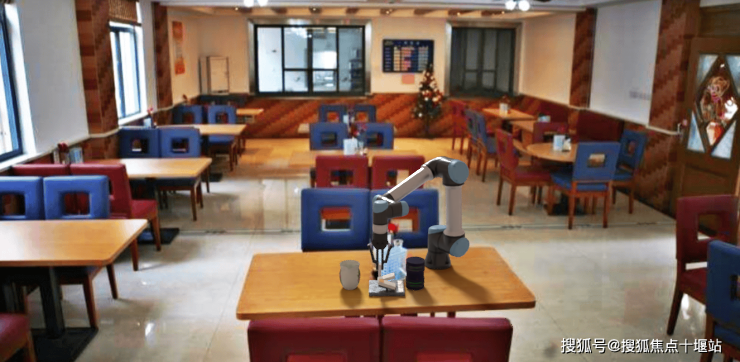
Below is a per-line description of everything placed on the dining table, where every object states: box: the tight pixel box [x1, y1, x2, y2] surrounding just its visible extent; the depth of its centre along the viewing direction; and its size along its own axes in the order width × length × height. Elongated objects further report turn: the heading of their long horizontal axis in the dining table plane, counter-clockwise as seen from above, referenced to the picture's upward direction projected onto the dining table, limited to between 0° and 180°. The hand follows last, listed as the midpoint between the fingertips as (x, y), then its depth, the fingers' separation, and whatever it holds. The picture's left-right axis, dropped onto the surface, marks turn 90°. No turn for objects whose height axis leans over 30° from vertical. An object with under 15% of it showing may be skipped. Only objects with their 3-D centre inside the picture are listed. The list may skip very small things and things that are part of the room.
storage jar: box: [405, 256, 426, 292], centre depth 298 cm, size 10×10×15 cm
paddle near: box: [377, 278, 396, 290], centre depth 291 cm, size 9×4×2 cm, turn 91°
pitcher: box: [338, 259, 361, 291], centre depth 298 cm, size 11×18×14 cm, turn 1°
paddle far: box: [377, 272, 396, 281], centre depth 298 cm, size 9×4×2 cm, turn 89°
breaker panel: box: [368, 279, 406, 297], centre depth 295 cm, size 18×15×4 cm
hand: (379, 275), depth 290 cm, fingers closed
